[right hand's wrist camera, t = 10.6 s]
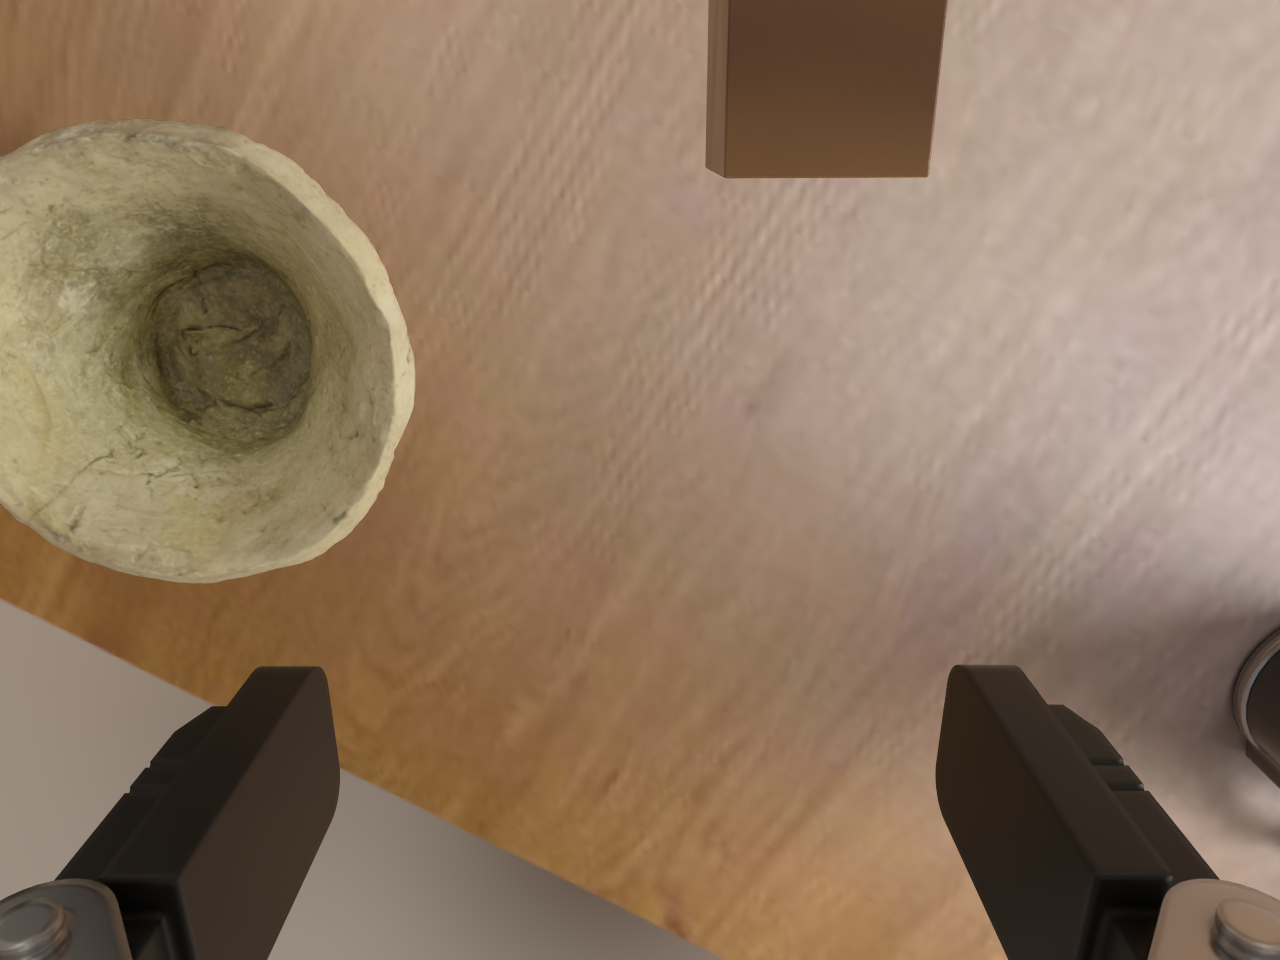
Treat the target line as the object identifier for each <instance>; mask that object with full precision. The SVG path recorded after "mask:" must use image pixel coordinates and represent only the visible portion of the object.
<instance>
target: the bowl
mask: <svg viewBox="0 0 1280 960" xmlns="http://www.w3.org/2000/svg"><path fill="white" fill-rule="evenodd" d="M414 394H415V366H414V354H413V351H412V348H411V345H410V342H409V337H408V334H407V327H406V324H405V320H404V318H403V315H402V313H401V310H400V307H399V305H398V302H397V300H396V298H395V295H394V292H393V288H392V286H391V284H390V282H389V277H388V274H387V271H386V269H385V267H384V266H383V264H382V263H381V260H380V258H379V256H378V254H377V252H376V250H375V249H374V247H373V245H372V244H371V242H370V241H369V239H368V238H367V237H366V235H365V234H364V233H363V231H362V230H361V229H360V228H359V227H358V226H357V225H356V224H355V223H354V222H353V221H352V220H351V219H350V218H349V217H348V216H347V215H346V214H345V212H344V210H343V209H342V208H341V207H340V206H339V205H338V204H337V203H336V202H335V201H334V200H332V199H331V198H330V197H328V196H327V195H326V194H325V192H324V191H323V189H322V188H321V186H320V185H319V184H318V183H317V182H316V181H314V180H313V179H311V178H310V177H309V176H308V175H307V174H306V173H305V172H304V171H303V169H302V168H301V167H300V166H298V165H297V164H296V163H295V162H293V161H292V160H291V159H289V158H287V157H286V156H284V155H282V154H281V153H279V152H278V151H275V150H273V149H270V148H268V147H267V146H265V145H264V144H262V143H257V142H255V141H253V140H251V139H250V138H249V137H247V136H244V135H242V134H240V133H238V132H235V131H233V130H230V129H227V128H223V127H219V126H209V125H200V124H194V123H191V122H186V121H183V122H173V121H159V120H155V119H127V120H121V121H110V120H100V121H92V122H87V123H83V124H79V125H74V126H70V127H64V128H60V129H57V130H54V131H51V132H49V133H45V134H43V135H40V136H38V137H37V138H35V139H33V140H31V141H29V142H27V143H26V144H25V145H23V146H21V147H19V148H17V149H16V150H15V151H14V152H11V153H8V154H6V155H4V156H1V157H0V503H1V504H2V505H3V506H4V507H5V508H6V509H7V510H8V511H10V512H11V513H12V515H13V516H14V517H15V518H16V519H17V520H18V521H20V522H21V523H23V524H25V525H27V526H29V527H31V528H32V529H34V530H35V531H36V532H37V533H39V534H40V535H41V536H42V537H44V538H45V539H46V540H47V541H49V542H50V543H52V544H54V545H56V546H58V547H60V548H61V549H63V550H65V551H67V552H69V553H71V554H73V555H75V556H77V557H79V558H81V559H83V560H86V561H89V562H92V563H97V564H99V565H102V566H105V567H108V568H110V569H113V570H115V571H119V572H123V573H128V574H132V575H136V576H143V577H148V578H155V579H160V580H165V581H172V582H180V583H215V582H220V581H222V580H228V579H235V578H242V577H247V576H251V575H254V574H258V573H262V572H266V571H270V570H273V569H277V568H282V567H286V566H292V565H296V564H300V563H303V562H305V561H309V560H312V559H314V558H315V557H316V556H319V555H322V554H323V553H324V552H326V551H327V550H328V549H329V548H330V547H332V546H333V545H334V544H335V543H337V542H338V541H340V540H342V539H343V538H345V537H346V536H347V535H348V534H349V533H350V532H351V531H352V530H353V529H354V528H355V526H356V525H357V524H358V523H359V522H360V521H361V520H362V519H363V518H364V516H365V515H366V514H367V512H368V511H369V509H370V507H371V506H372V505H373V504H374V502H375V501H376V499H377V495H378V494H379V492H380V491H381V490H382V488H383V487H384V483H385V478H386V476H387V474H388V471H389V469H390V466H391V463H392V461H393V459H394V454H393V453H394V449H395V448H396V447H397V444H398V443H399V441H400V439H401V437H402V434H403V432H404V429H405V428H406V426H407V423H408V421H409V418H410V416H411V413H412V410H413V407H414Z"/></svg>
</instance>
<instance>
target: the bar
mask: <svg viewBox="0 0 1280 960" xmlns="http://www.w3.org/2000/svg"><path fill="white" fill-rule="evenodd" d="M946 9H947V0H709V18H708V68H707V117H706V168H707V169H709V170H711V171H713V172H715V173H717V174H719V175H721V176H723V177H725V178H879V177H928V175H929V169H930V160H931V150H932V141H933V132H934V122H935V113H936V103H937V94H938V85H939V75H940V66H941V56H942V47H943V38H944V28H945V19H946Z"/></svg>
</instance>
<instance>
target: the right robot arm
mask: <svg viewBox="0 0 1280 960" xmlns="http://www.w3.org/2000/svg"><path fill="white" fill-rule="evenodd" d="M1233 710H1234V716H1235V719H1236V722H1237V725H1238V727H1239V729H1240V730H1241V732H1242V734H1243V735H1244V736H1245V737H1246V739H1247V740H1248V747H1247V751H1246V756H1247V757H1248V758H1249V759H1250V760H1251V761H1252V762H1253V763H1254V764H1255V765H1256V766H1257V767H1258V768H1259V769H1260V770H1261V771H1262V772H1263V773H1264V774H1265V775H1266V776H1267V777H1268V778H1269V779H1270V780H1271V781H1272V782H1273V783H1274V784H1275V785H1276V786H1277V787H1278V788H1279V789H1280V629H1279V630H1278V631H1276V632H1275V633H1273V634H1272V635H1271V636H1270V637H1268V638H1267V639H1266V640H1265V641H1264V642H1263V643H1262V644H1261V645H1260V646H1259V647H1258V648H1257V649H1256V650H1255V651H1254V652H1253V654H1252V655H1251V656H1250V658H1249V659H1248V660H1247V662H1246V663H1245V665H1244V667H1243V669H1242V670H1241V673H1240V675H1239V677H1238V680H1237V683H1236V686H1235V690H1234V696H1233ZM150 763H151V764H150V768H145V769H144V770H143V772H142V773H141V774H140V775H139V776H138V778H137V779H136V780H135V781H134V783H133V784H132V785H131V786H130V792H129V793H125V794H124V795H123V796H122V797H121V799H120V800H119V801H118V802H117V804H116V805H115V806H114V807H113V809H112V810H111V811H110V812H109V813H108V815H107V816H106V817H105V818H104V820H103V821H102V822H101V823H100V825H99V826H98V827H97V828H96V830H95V831H94V832H93V833H92V834H91V836H90V837H89V838H88V839H87V841H86V842H85V843H84V844H83V846H82V847H81V848H80V849H79V851H78V852H77V853H76V854H75V855H74V857H73V858H72V859H71V860H70V862H69V863H68V864H67V865H66V867H65V868H64V869H63V870H62V872H61V873H60V874H59V875H58V876H57V878H56V879H55V880H54V881H51V882H47V883H43V884H39V885H36V886H33V887H30V888H27V889H24V890H22V891H19V892H17V893H15V894H13V895H11V896H8V897H6V898H4V899H3V900H1V901H0V960H267V959H268V956H269V954H270V952H271V950H272V948H273V946H274V944H275V941H276V939H277V937H278V935H279V933H280V931H281V929H282V926H283V924H284V922H285V920H286V918H287V916H288V913H289V911H290V909H291V907H292V905H293V903H294V901H295V898H296V896H297V894H298V892H299V890H300V888H301V885H302V883H303V881H304V879H305V877H306V875H307V872H308V870H309V868H310V866H311V864H312V862H313V860H314V858H315V855H316V853H317V851H318V849H319V847H320V845H321V843H322V840H323V838H324V836H325V834H326V832H327V830H328V827H329V825H330V823H331V821H332V818H333V816H334V813H335V809H336V805H337V801H338V795H339V786H340V768H339V760H338V753H337V745H336V738H335V731H334V724H333V717H332V710H331V703H330V696H329V689H328V683H327V678H326V675H325V673H324V671H323V669H322V668H320V667H313V666H312V667H309V666H261V667H258V668H257V669H255V670H254V671H253V672H252V674H251V675H250V676H249V678H248V679H247V680H246V682H245V683H244V684H243V686H242V687H241V688H240V690H239V691H238V692H237V694H236V695H235V696H234V698H233V699H232V700H231V702H230V703H229V704H228V706H212V707H210V708H209V709H207V710H206V711H205V712H203V713H202V714H200V715H199V716H197V717H196V718H194V719H193V720H191V721H190V722H188V723H187V724H185V725H184V726H183V727H181V728H180V729H178V730H177V731H175V732H174V733H173V734H172V736H171V737H170V738H169V739H168V741H167V742H166V743H165V744H164V746H163V747H162V748H161V749H160V751H159V752H158V753H157V754H156V756H155V757H154V758H153V759H152V760H151V762H150ZM936 789H937V796H938V802H939V806H940V810H941V813H942V816H943V818H944V820H945V823H946V825H947V827H948V829H949V831H950V834H951V836H952V838H953V840H954V842H955V844H956V847H957V849H958V851H959V853H960V855H961V857H962V860H963V862H964V864H965V866H966V868H967V871H968V873H969V875H970V877H971V879H972V881H973V884H974V886H975V888H976V890H977V892H978V895H979V897H980V899H981V901H982V903H983V905H984V908H985V910H986V912H987V914H988V916H989V918H990V921H991V923H992V925H993V927H994V929H995V932H996V934H997V936H998V938H999V940H1000V942H1001V945H1002V947H1003V949H1004V951H1005V953H1006V955H1007V958H1008V960H1280V901H1279V900H1277V899H1276V898H1274V897H1272V896H1270V895H1267V894H1265V893H1263V892H1261V891H1258V890H1256V889H1253V888H1250V887H1247V886H1244V885H1241V884H1237V883H1233V882H1229V881H1224V880H1220V879H1219V878H1218V877H1217V876H1216V874H1215V873H1214V872H1213V871H1212V869H1211V868H1210V867H1209V866H1208V864H1207V863H1206V862H1205V861H1204V859H1203V858H1202V857H1201V856H1200V854H1199V853H1198V852H1197V851H1196V849H1195V848H1194V847H1193V846H1192V844H1191V843H1190V842H1189V841H1188V839H1187V838H1186V837H1185V836H1184V834H1183V833H1182V832H1181V831H1180V829H1179V828H1178V827H1177V826H1176V824H1175V823H1174V822H1173V821H1172V819H1171V818H1170V817H1169V816H1168V814H1167V813H1166V812H1165V811H1164V809H1163V808H1162V807H1161V806H1160V805H1159V803H1158V802H1157V801H1156V800H1155V798H1154V797H1153V796H1152V795H1151V793H1150V792H1149V791H1144V788H1143V783H1142V782H1141V781H1140V780H1139V778H1138V777H1137V776H1136V775H1135V773H1134V772H1133V771H1132V770H1131V768H1130V767H1129V766H1124V763H1123V758H1122V757H1121V756H1120V755H1119V753H1118V752H1117V751H1116V750H1115V748H1114V747H1113V746H1112V745H1111V743H1110V742H1109V741H1108V740H1107V738H1106V737H1105V736H1104V735H1103V733H1102V732H1101V731H1100V730H1099V729H1098V728H1096V727H1095V726H1093V725H1092V724H1090V723H1089V722H1087V721H1086V720H1084V719H1083V718H1081V717H1080V716H1079V715H1077V714H1076V713H1074V712H1073V711H1071V710H1070V709H1068V708H1067V707H1065V706H1064V705H1047V703H1046V702H1045V701H1044V699H1043V698H1042V697H1041V695H1040V694H1039V693H1038V691H1037V690H1036V689H1035V687H1034V686H1033V685H1032V683H1031V682H1030V680H1029V679H1028V678H1027V676H1026V675H1025V674H1024V672H1023V671H1022V670H1021V669H1020V668H1019V667H1018V666H1016V665H955V666H954V667H953V668H952V670H951V672H950V674H949V677H948V682H947V689H946V696H945V704H944V711H943V718H942V725H941V732H940V740H939V747H938V754H937V761H936Z"/></svg>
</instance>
